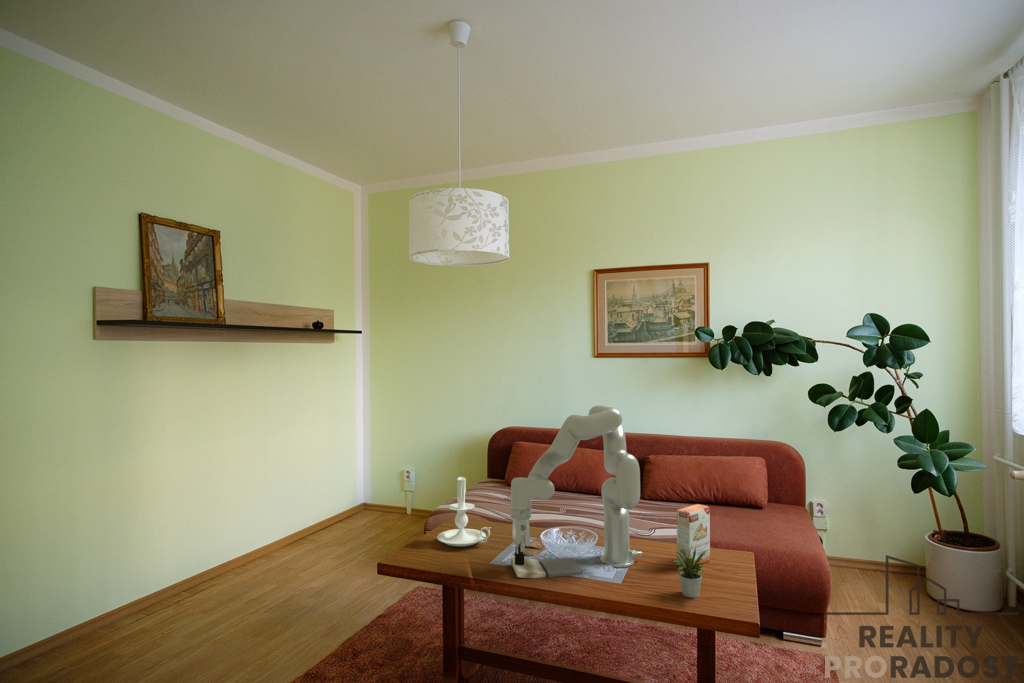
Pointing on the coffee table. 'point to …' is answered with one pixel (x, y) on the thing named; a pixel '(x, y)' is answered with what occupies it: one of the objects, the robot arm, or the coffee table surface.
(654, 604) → the coffee table surface
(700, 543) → the cracker box
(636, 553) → the robot arm
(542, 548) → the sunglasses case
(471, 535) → the candlestick
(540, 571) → the ash plank
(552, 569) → the floor board
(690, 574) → the house plant
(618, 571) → the coffee table surface
